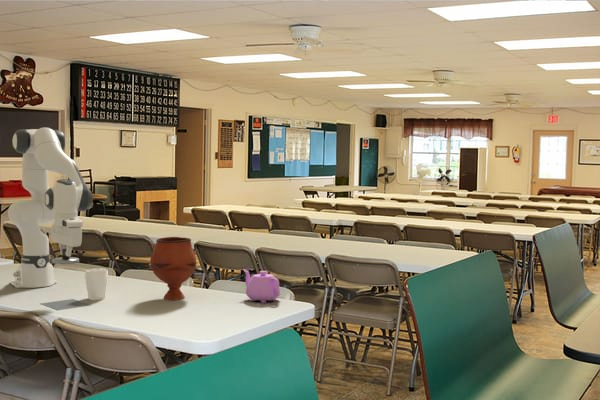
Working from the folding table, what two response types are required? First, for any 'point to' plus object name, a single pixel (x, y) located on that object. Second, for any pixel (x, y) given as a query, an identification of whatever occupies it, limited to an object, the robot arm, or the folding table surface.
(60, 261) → the lid
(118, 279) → the folding table surface
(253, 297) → the teapot
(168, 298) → the goblet
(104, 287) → the cup
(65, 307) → the mat
